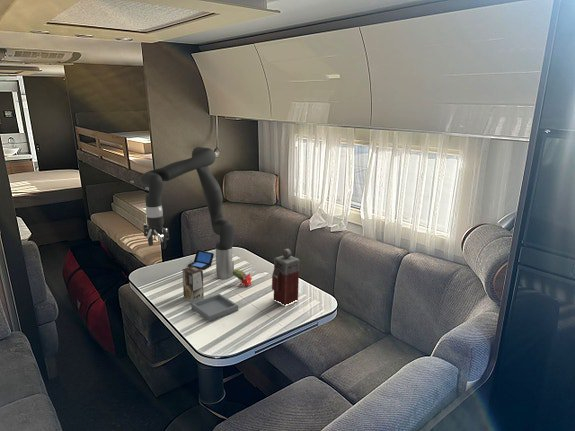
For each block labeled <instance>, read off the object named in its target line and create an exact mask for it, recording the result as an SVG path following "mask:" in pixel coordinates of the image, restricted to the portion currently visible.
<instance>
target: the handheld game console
mask: <svg viewBox="0 0 575 431" xmlns="http://www.w3.org/2000/svg"><path fill="white" fill-rule="evenodd" d="M214 256H215V254H214V253H213V252H209V251H203V250H199V249H198V250H196V253H195V256H194V260H193V261H192V262H190V263H189V264H187V268H188V267H190V266H194V267H196V268H198V269H200V270H202V271H203V270H204V271H205V270H207V269H209V268H211V267H212V263H213V259H214Z"/></svg>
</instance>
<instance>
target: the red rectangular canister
mask: <svg viewBox="0 0 575 431" xmlns="http://www.w3.org/2000/svg"><path fill="white" fill-rule="evenodd" d="M271 275H272V276H271V289H272V290H273V301H274V300H276V301H279V302H281V303H282V304H284V305H286V304H289V303H291V302H293V301H295V300H298V301H299V284H300V283H299V280H300V279H299V278H300V276H299V275H300V259H299V258H298V257H295V256H292V251H291V249H290V248H284V249H283V250H282V255H280V256H276V257H274V262H273V271H272V274H271Z"/></svg>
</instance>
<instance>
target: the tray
mask: <svg viewBox="0 0 575 431" xmlns="http://www.w3.org/2000/svg"><path fill="white" fill-rule="evenodd" d="M190 306H191V310H192V311H193V312H195V313H197V314H198V315H199V316H200V317H202V318H203V319H205V320H206V321H208V322H209V323H212V322H213V321H216V320H218V319H219V320H220V319H221V318H223V317H226V316H229V315H232V314H234V313H237V312H239V305H238V304H237V303H236V302H234V301H232V300H230V299H229V298H227V297H226V296H224V295H222V294H221V293H216V294H214V295H211V296H208V297H204V299H202V300H199V301H196V302H194V303H191V302H190Z"/></svg>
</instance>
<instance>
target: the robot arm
mask: <svg viewBox="0 0 575 431" xmlns="http://www.w3.org/2000/svg"><path fill="white" fill-rule="evenodd" d="M216 159H217V158H216V153H215V151H214V150H213V149H212V148H209V147H201V146H196V147H194V149H193V150H192V151H191V157H189V158H187V159H182V160H176V161H174V162H172V163H169V164H166V165H164V166H162V167H159V168H156V169H152V170H149V171H146V172H145V173H143V174H142V175H141V177H140V184H141V185H142V186H144V187H145V188H148V192H147V193H146V194H145V198H144V199H145V217H146V224H143V237H146V239H147V243H148V246H149V247H151V246H154V238H153V236H155V237H157V238H158V239H159V240H160V242H161V244H160V245H161V249H162V250H164V249H166V248H167V241H170V233H169V228H168V227H166V228H165V227H164V226H163V225H164V222H165V221H164V215H163V214H164V213H163V212H164V211H163V210H164V209H163V204H162V193H163V186H164V182H169V181H172V180H173V179H174V180H175V179H176V178H178V177H180V176H182V175H184V174H187V173H189V172H193V171H195V170H196V172H197V175H198V178H199V181H200V185H201V187H202V192H203V196H204V199H205V201H206V206H207V209H208V212H209V217H210V223H211V227H212V232H213V233H214V234H216V235H217V236H219V240H218V241H217V242H215V271H216V273H215V274H216V278H218V279H220V280H227V279H230V278H232V277H233V276H234V274H233V272H234V270H235V261H234V259H233V244H234V240H235V239H234V237H235V228H234V223H232V222H231V221H229V220H227V219H225V218H224V215H223V212H222V205H223V200H224V199H223V193H222V188H221V186H220V184H219V182H218V180H217V179H216V178H215V176H214V175H213V174H212V172H211V170H210V166H212V165H213V164H214V163H215V161H216Z"/></svg>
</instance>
